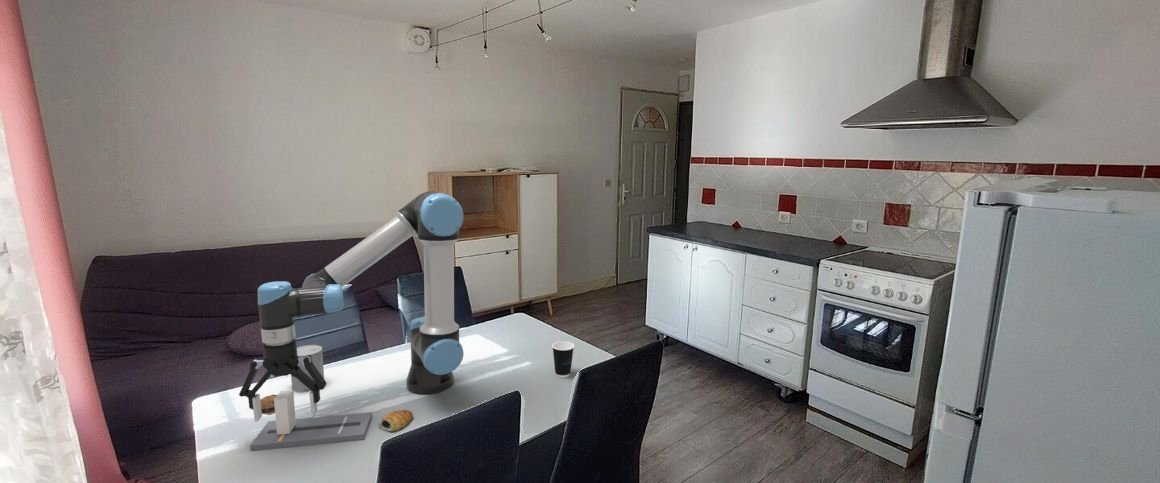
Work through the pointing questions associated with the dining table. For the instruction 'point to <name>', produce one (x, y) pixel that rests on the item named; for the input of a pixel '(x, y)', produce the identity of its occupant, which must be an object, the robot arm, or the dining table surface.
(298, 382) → the grey concrete cylinder
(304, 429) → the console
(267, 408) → the wood slice
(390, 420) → the pastry
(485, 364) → the dining table surface
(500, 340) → the dining table surface
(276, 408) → the fader tab
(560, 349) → the dixie cup
